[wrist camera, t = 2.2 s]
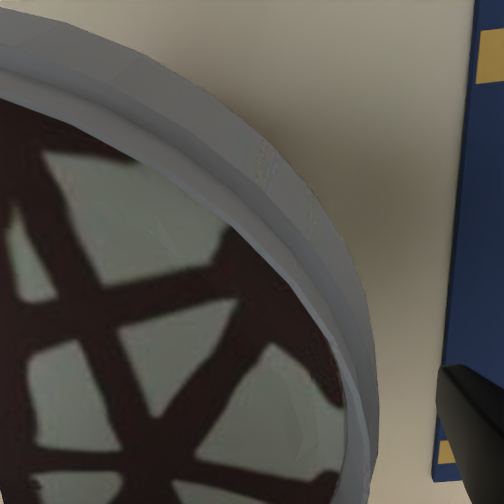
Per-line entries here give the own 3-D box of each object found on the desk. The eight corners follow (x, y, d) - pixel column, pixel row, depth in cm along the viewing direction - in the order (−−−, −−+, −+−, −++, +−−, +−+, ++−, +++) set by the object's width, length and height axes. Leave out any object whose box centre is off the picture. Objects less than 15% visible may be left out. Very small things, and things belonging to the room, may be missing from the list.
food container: (281, 385, 18) (316, 727, 9) (131, 370, 18) (6, 711, 8) (349, 63, 13) (591, 91, 4) (140, 32, 12) (-151, -20, 3)
